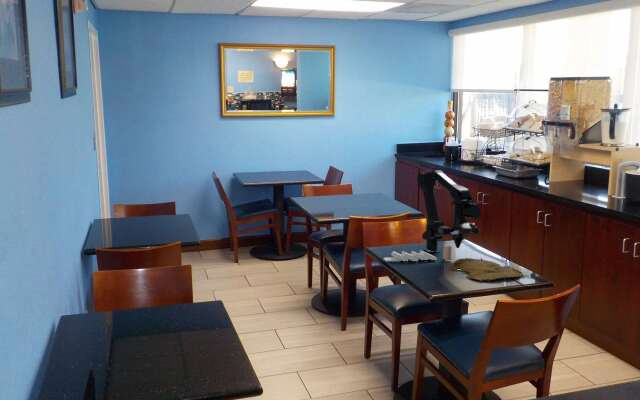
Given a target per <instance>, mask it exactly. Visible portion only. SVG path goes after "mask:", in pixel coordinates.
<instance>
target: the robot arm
mask: <svg viewBox="0 0 640 400" xmlns="http://www.w3.org/2000/svg"><path fill="white" fill-rule="evenodd" d="M416 180H417V184H418V187H419V188H420V190H421V191H422V193H423V198H424V199H423V200H424V204H425V210H426V215H427V222H426V224H425V228H426V229H425V231H424V232H423V233H422V234H421V237H422V239H423V240H425V249H428V250H431V251H437V250H438V245H439V244H438V243H439V240H442V239H443V236H444V235H451V237H452V239H453V242H454V245H455V248H456V249H459V248H460V247H461V244H462V243H463V241H464V239H465V238H466V237H467V236H469V235H470V234H471V233H472V234H473V235H478V234H480V233H481V232H480V231H481V230H480V228H479V227H478V226H477V225H476V224H475V223H474V222H468V218H470V219H472V220H473V219H474V220H478V219H479V218H480V217H481V215H482V211H481V208H480V207H479V204H478V203H475V201H474V199H473V197H472V195H471V192H470V190H469V188H466V187H464V186H463V185H459V184H458V183H456V182H455V181H453V180H452V179H451V178H450V177H448V176H447V174H445V173H444V172H443V171H442V170H440V169H438V170H433V171H430V172H421V173H419V174H418V175H417V177H416ZM436 182H437V183H439V184H440V185H441V186H442V187H444V188H445V189H446V190H447V191H448V192H449V195H450V197H451V198H452V199H453V201H452V202H451V203H450V204H451V205H453V216H452V217H451V219H452V225H451V227H449V226H447V225H445V224H444V221H443V220H441V219H440V218H439V214H438V210H437V205H436V198H435V194H434V193H435V192H434V188H435V186H436Z"/></svg>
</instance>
